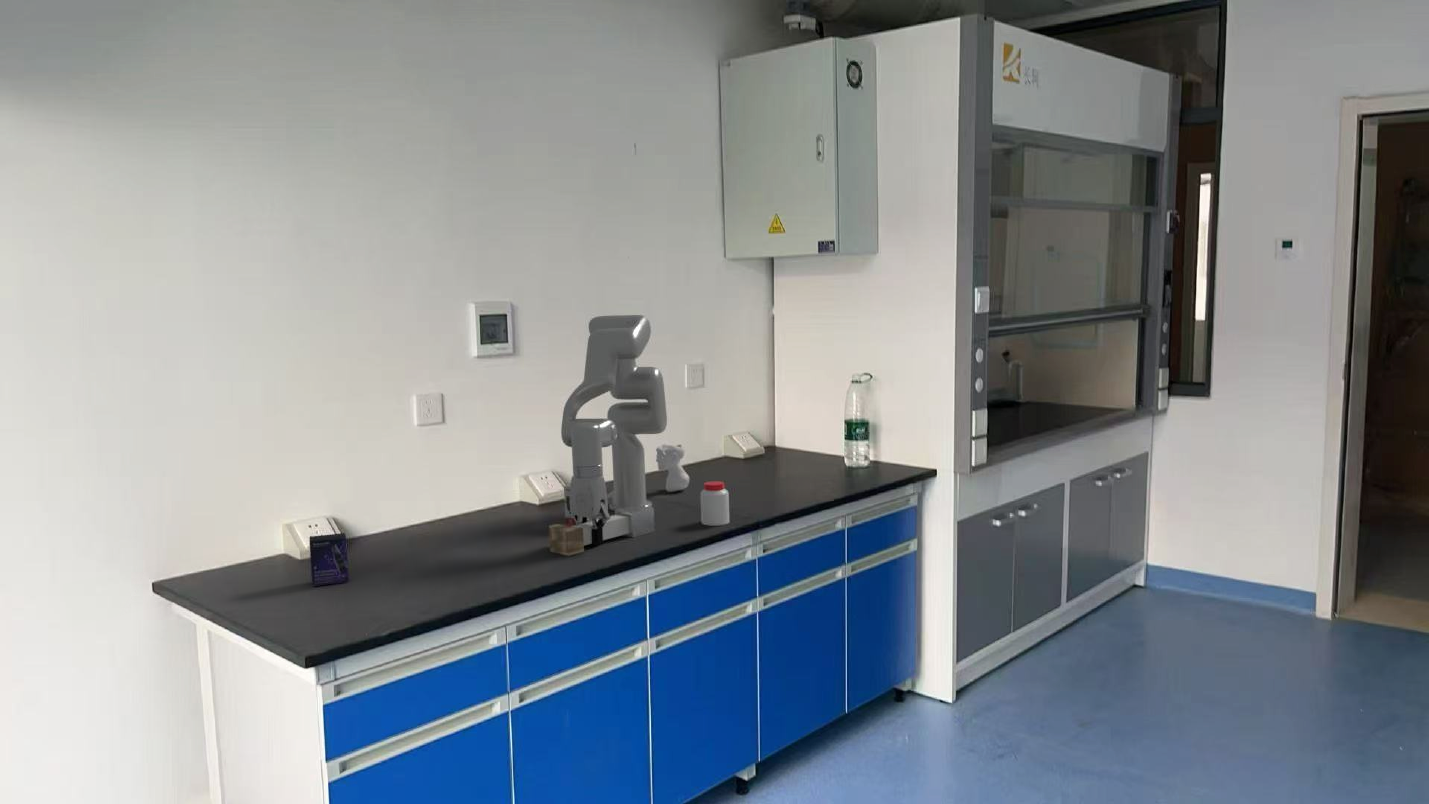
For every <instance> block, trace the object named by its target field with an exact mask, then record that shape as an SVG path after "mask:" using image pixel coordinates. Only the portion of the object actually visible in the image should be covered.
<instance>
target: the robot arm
mask: <svg viewBox="0 0 1429 804" xmlns="http://www.w3.org/2000/svg"><path fill="white" fill-rule="evenodd" d="M589 320H590V321H589V322H588V332H589V336H588V340H587V347H586V354H585V365H584V374H583V376H584V377H583V380H582V382H581V383H580V384H579V385H578V386H577V387H576V388H575V389H574V390H573V391H572V392H571V394H570V396H568V398H567V400H566V402H565V404H564V407H563V411H562V421H561V427H560V428H561V429H560V431H561V432H560V433H561V434H560V435H561V440H562V443H563V444H564V445H565V446H566V447H568V448H571V456H572V457H571V459H572V476H571V478H570V479H571V480H570V483H571V485H570V511H571V513H572V515H573V516H574V517H575V519H576V521H577V525H579V524H583V523H586V522H588V519H589V518H591V519H592V524H593V528H594V529H592V545H598V544H602V543H603V542H604V540H603V529H602V527H604V524H605V523H606V521H608V520H609V519H610V515H611V514H609V509H610V510H611V511H614V512H615V510H617V509H621V508H625V507H629V506H633V505H642V506H648V507H652V506H653V505H652V501H650V500H647V488H646V487H647V485H646V462H645V448H644V445H643V443H642V442H641V440H640V439H639V438H638V437H637V436H638V435H659V434H662V433H663V432H665V430H667V429H666V428H667V426H668V425H667V424H668V416H667V414H668V413H667V405H666V396H665V395H666V394H665V384H664V377H663V375H662V372H661V370H660V369H658V368H657V367H655V366H638V365H637V364H636V359H638V358H640V357H641V355H642V353H643V351H644V350H645V348H646V346H647V344H648V343H649V341H650V338H651V332H652V330H651V323H650V320H649V319H648V318H647V317H646V316H644V315H642V314H630V315H629V314H628V315H621V314H620V315H618V314H616V315H614V314H613V315H601V316H595V317H593V318H591V319H589ZM609 392H610V396H612V398H614V399H617V400H621V401H623V400H630V401H623V402H617V403H614V404H612V405H611V406H610V407H609V408H608V410H607V412H606V413H607V414H606V415H607V418H577V415H578V413H579V412H580V409H581V408H582V407H583V406H584V405H585V404H587V403H589V402H590V401H592V400H594V399H595V398H598V397H600V396H602V395H604V394H606V393H609ZM631 400H633V401H631ZM634 400H635V401H634ZM636 400H645V401H636ZM610 446H611V455H612V459H611V460H612V475H613V490H612V491H610V493H607V485H606V482H605V477H604V467H603V449H602V448H607V447H610ZM608 499H611V500H612V502H611V503H610V504H609V505H608ZM608 507H609V508H608ZM597 518H598V519H599V520H598V521H597V520H596V519H597Z"/></svg>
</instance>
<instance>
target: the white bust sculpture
mask: <svg viewBox="0 0 1429 804" xmlns="http://www.w3.org/2000/svg"><path fill="white" fill-rule="evenodd" d="M655 451H656V460H655V462H656V463H657V469H658V471H660V472H665V471H666V470H667V471H668V475H667V477H666V482H665V490H666V491H667V492H668V493H674V492H677V491H680V490H681V491H682V490H683V489H686V488H687V487H689V483H690V476H689V474H688V473H687V472H686V471H685V470H684V468H683V466H682V464H681V460H682V459H683V458H684V455H685V448H684V446H683V445H682V444H677V445H676V446H674V445H670V444H665V443H664V444H661V445H660V446H657V447H656V449H655Z"/></svg>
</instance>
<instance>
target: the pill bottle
mask: <svg viewBox="0 0 1429 804" xmlns="http://www.w3.org/2000/svg"><path fill="white" fill-rule="evenodd" d="M703 485H704V486H703V487H704V488H703V490H701V492H700V494H699V495H700V513H701V514H700V516H701V517H700V518H701V519H700V521H701V524H702V525H705V526H715V527H716V526H724V525H728V524H729V523H730V501H729V500H730V499H729V497H730V495H729V491H728V490H727V489H726V488H725V482H724V481H719V480H718V481H707V482H704V484H703Z"/></svg>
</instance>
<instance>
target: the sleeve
mask: <svg viewBox="0 0 1429 804" xmlns="http://www.w3.org/2000/svg"><path fill="white" fill-rule="evenodd" d="M618 514H627V515H630V522H631V533H628V534H624V535H622V536H624V537H628V538H629V537H630V538H636V537H641V536H643V535H646V534H650V533H654V532H655V530H656V529H655V508H654V507H652V506H651V507H648V506H642V505H633V506H629V507H625V508H621V509H617V510H615V511H614V515H618Z"/></svg>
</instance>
